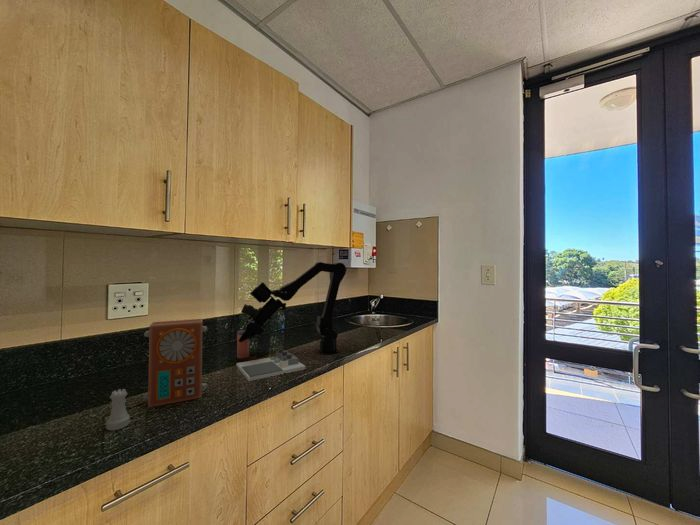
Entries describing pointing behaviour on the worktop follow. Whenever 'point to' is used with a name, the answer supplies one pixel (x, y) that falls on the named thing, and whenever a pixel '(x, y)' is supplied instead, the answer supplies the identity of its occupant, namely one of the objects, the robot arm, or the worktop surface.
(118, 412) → the rook chess piece
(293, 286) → the robot arm
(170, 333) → the control panel
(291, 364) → the breaker board
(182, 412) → the worktop surface
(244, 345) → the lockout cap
